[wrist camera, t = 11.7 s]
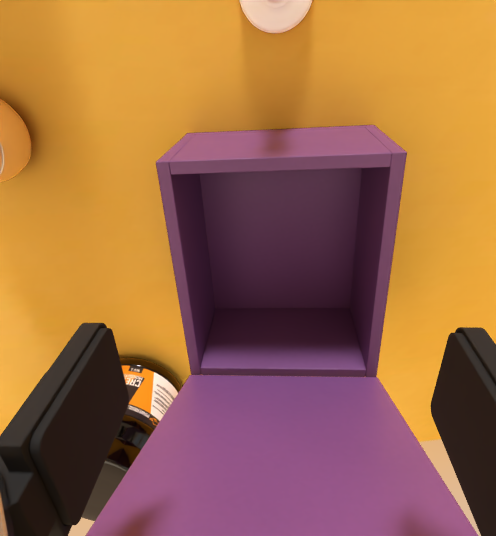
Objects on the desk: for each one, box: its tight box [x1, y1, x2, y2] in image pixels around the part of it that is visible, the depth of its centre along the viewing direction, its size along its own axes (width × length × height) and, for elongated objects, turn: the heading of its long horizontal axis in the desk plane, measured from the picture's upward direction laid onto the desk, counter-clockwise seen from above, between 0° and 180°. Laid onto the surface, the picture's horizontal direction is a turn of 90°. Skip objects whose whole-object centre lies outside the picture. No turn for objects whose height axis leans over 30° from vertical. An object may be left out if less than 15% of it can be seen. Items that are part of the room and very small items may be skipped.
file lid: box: [86, 375, 478, 536], centre depth 21 cm, size 18×14×6 cm
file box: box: [156, 125, 407, 377], centre depth 30 cm, size 17×14×9 cm
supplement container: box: [82, 358, 181, 521], centre depth 39 cm, size 10×10×12 cm
